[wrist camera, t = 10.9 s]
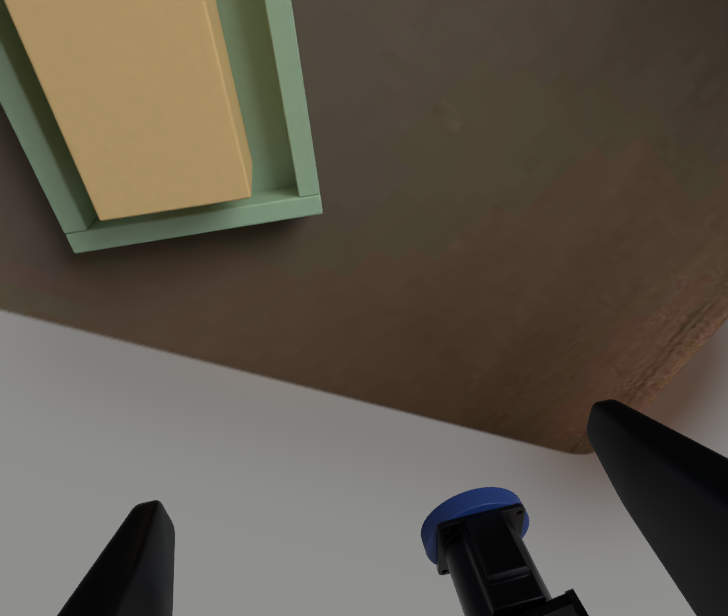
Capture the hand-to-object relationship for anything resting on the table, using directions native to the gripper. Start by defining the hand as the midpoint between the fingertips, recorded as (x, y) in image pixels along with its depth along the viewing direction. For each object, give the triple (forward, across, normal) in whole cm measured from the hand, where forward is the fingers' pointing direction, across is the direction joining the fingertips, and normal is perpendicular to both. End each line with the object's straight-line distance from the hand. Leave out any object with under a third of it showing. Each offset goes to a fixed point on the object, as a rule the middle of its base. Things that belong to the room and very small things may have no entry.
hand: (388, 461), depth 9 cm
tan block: (+12, +4, -7) cm, 15 cm away
